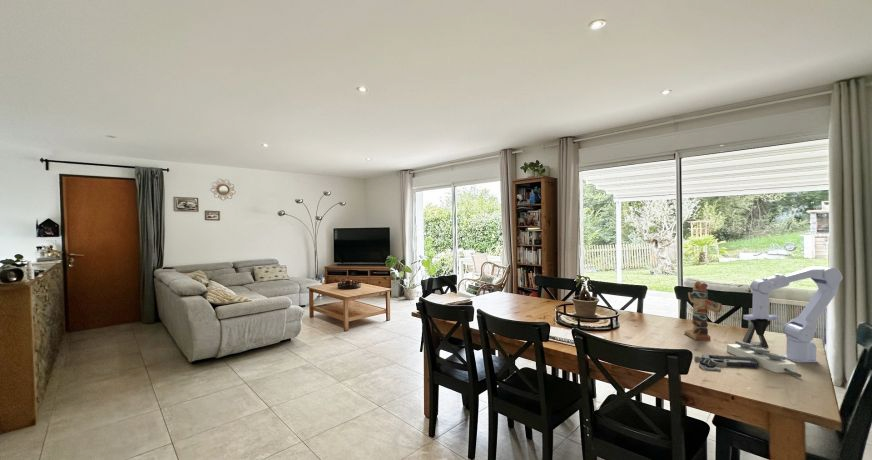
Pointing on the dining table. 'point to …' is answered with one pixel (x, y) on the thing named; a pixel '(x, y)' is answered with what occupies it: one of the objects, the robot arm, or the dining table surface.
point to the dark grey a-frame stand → (749, 336)
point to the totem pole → (701, 311)
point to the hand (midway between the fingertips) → (759, 335)
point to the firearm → (725, 361)
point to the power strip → (764, 360)
